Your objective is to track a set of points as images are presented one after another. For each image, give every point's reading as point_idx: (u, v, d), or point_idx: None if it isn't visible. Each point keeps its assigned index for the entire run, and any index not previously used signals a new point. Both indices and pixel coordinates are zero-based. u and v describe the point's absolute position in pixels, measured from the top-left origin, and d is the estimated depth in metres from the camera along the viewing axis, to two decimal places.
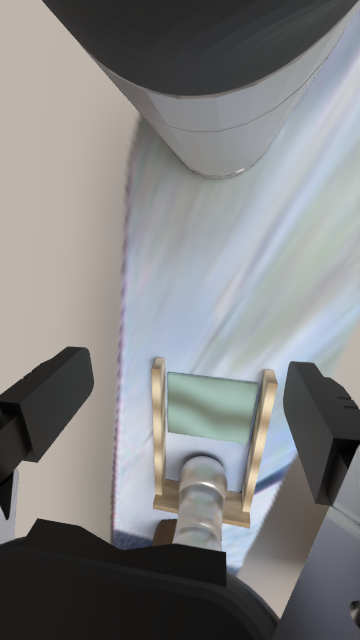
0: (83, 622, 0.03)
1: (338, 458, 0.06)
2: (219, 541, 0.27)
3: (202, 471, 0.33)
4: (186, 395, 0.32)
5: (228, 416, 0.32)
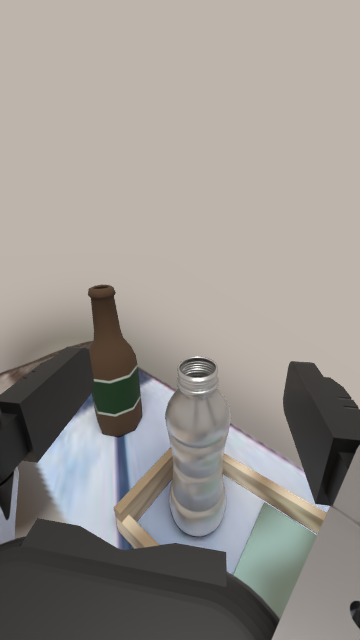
0: (83, 622, 0.03)
1: (338, 458, 0.06)
2: (194, 475, 0.23)
3: (221, 509, 0.26)
4: None
5: (281, 613, 0.21)
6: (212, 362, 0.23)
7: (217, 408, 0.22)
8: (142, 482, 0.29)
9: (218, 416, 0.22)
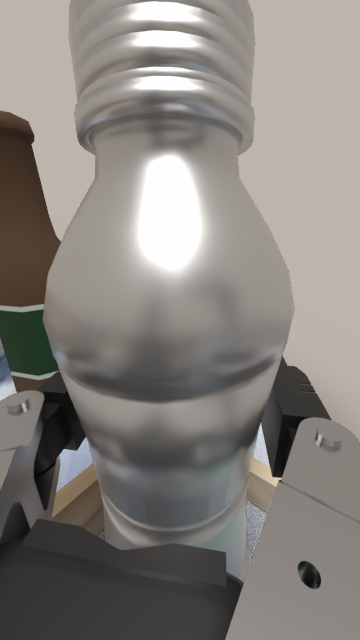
0: (83, 622, 0.03)
1: (288, 433, 0.06)
2: (152, 519, 0.06)
3: None
4: None
5: None
6: None
7: (250, 219, 0.05)
8: None
9: (256, 250, 0.04)
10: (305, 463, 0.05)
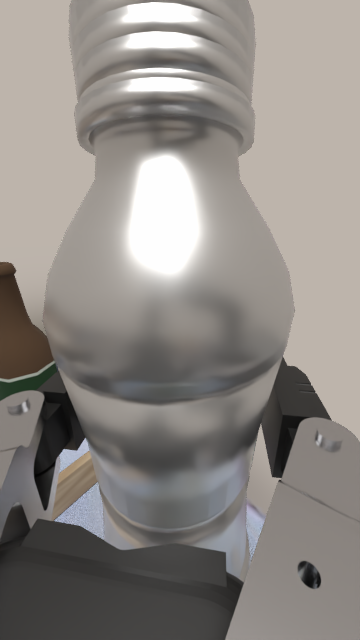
0: (83, 622, 0.03)
1: (288, 433, 0.06)
2: (152, 521, 0.06)
3: None
4: None
5: None
6: None
7: (251, 221, 0.05)
8: None
9: (256, 251, 0.04)
10: (305, 463, 0.05)
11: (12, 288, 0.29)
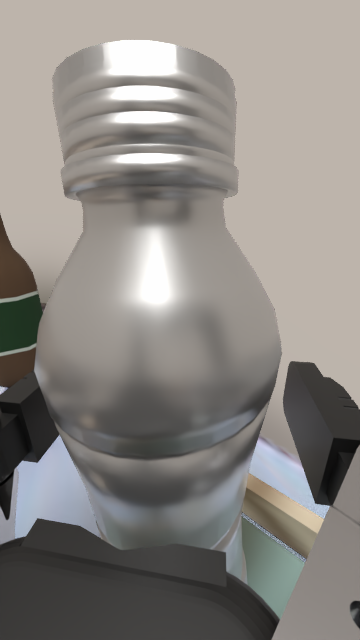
0: (83, 622, 0.03)
1: (338, 458, 0.06)
2: None
3: None
4: None
5: None
6: None
7: (234, 276, 0.05)
8: None
9: (239, 308, 0.05)
10: None
11: None
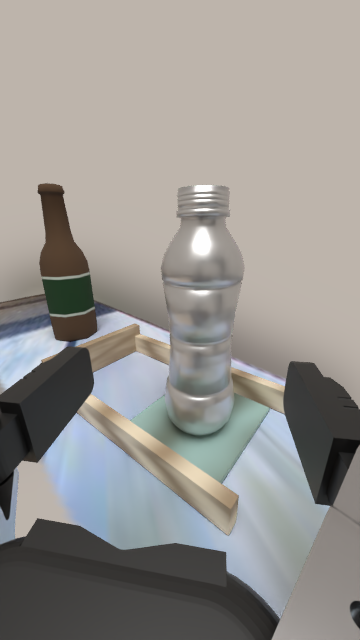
0: (83, 622, 0.03)
1: (338, 458, 0.06)
2: (196, 340, 0.18)
3: (229, 403, 0.21)
4: None
5: (178, 429, 0.23)
6: None
7: (228, 240, 0.17)
8: None
9: (229, 249, 0.17)
10: None
11: (62, 205, 0.37)
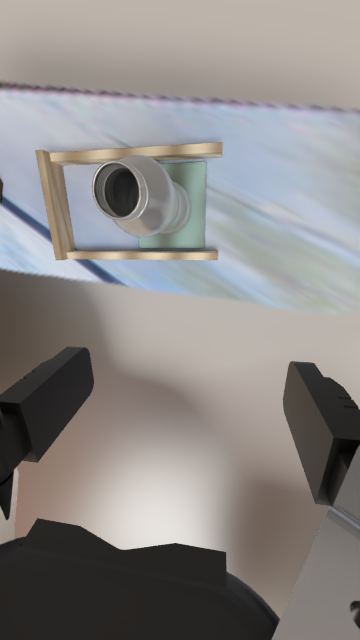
0: (83, 622, 0.03)
1: (338, 458, 0.06)
2: (166, 227, 0.27)
3: (189, 206, 0.32)
4: (183, 183, 0.34)
5: None
6: (123, 164, 0.16)
7: (159, 198, 0.20)
8: (53, 233, 0.36)
9: (164, 203, 0.20)
10: None
11: None
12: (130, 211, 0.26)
